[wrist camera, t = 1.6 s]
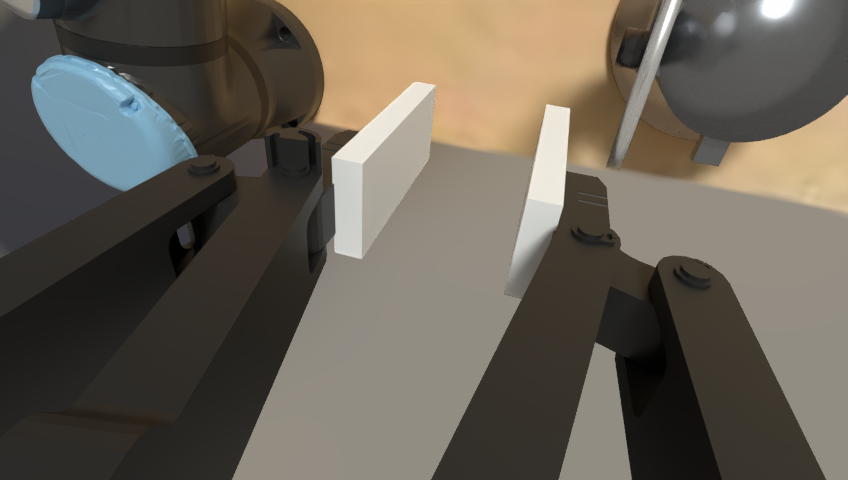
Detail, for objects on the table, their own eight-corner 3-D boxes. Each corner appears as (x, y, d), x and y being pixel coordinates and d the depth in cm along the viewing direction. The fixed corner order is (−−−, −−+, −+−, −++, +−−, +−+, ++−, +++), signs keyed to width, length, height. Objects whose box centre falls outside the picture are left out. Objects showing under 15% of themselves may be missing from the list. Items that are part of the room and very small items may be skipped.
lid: (633, 129, 37) (601, 122, 38) (706, -74, 29) (664, -78, 30) (609, 207, 27) (565, 194, 27) (715, -81, 19) (650, -88, 19)
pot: (585, 119, 46) (585, 152, 40) (656, -120, 35) (673, -132, 29) (794, 156, 43) (834, 199, 36) (944, -96, 32) (1042, -103, 25)
